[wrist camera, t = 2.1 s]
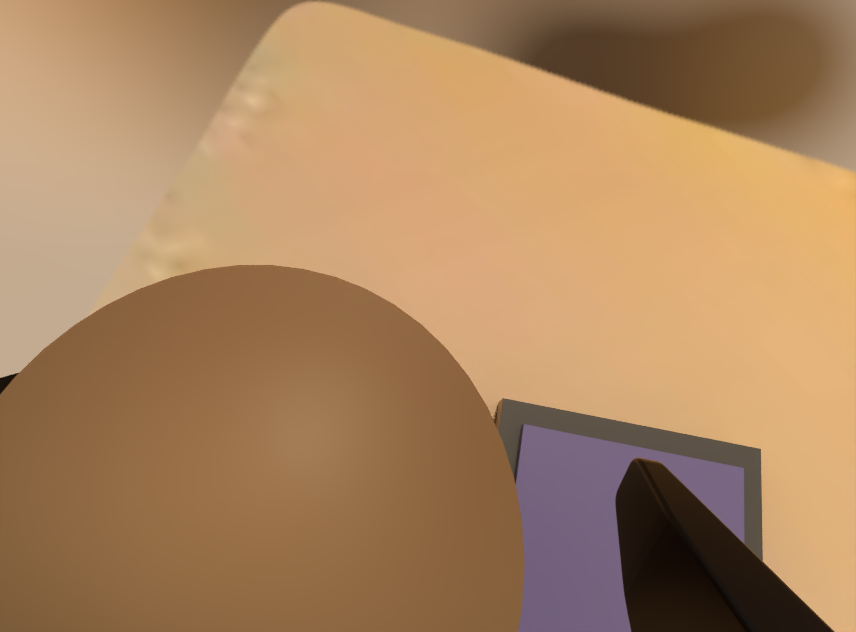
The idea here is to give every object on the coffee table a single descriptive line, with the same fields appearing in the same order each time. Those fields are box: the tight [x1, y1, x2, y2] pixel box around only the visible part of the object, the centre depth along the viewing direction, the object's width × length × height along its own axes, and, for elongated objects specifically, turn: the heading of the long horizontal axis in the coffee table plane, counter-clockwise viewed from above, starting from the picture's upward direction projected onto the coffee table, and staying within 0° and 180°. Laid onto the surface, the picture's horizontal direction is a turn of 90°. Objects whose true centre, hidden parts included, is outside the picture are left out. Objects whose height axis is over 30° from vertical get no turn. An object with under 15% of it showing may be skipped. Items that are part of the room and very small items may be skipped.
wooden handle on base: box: [0, 265, 525, 632], centre depth 9 cm, size 4×4×13 cm
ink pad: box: [495, 398, 763, 632], centre depth 14 cm, size 8×8×1 cm
